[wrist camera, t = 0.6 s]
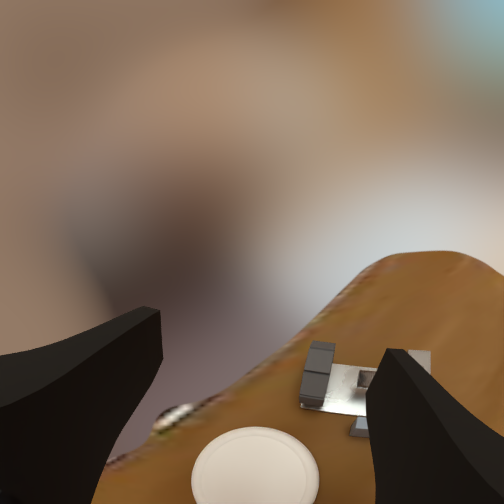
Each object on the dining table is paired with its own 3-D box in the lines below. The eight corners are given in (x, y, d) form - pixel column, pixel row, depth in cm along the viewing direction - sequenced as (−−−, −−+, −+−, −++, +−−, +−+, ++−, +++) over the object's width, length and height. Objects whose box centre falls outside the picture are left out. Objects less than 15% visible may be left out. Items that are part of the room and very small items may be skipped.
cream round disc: (189, 510, 16) (173, 512, 14) (221, 422, 23) (211, 412, 21) (301, 538, 13) (300, 546, 11) (328, 441, 20) (331, 435, 18)
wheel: (321, 411, 22) (325, 393, 18) (299, 408, 22) (298, 389, 19) (332, 361, 25) (337, 333, 22) (312, 358, 26) (313, 330, 23)
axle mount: (404, 419, 20) (429, 397, 15) (300, 408, 23) (299, 384, 19) (408, 372, 23) (430, 340, 19) (312, 362, 26) (313, 328, 22)
